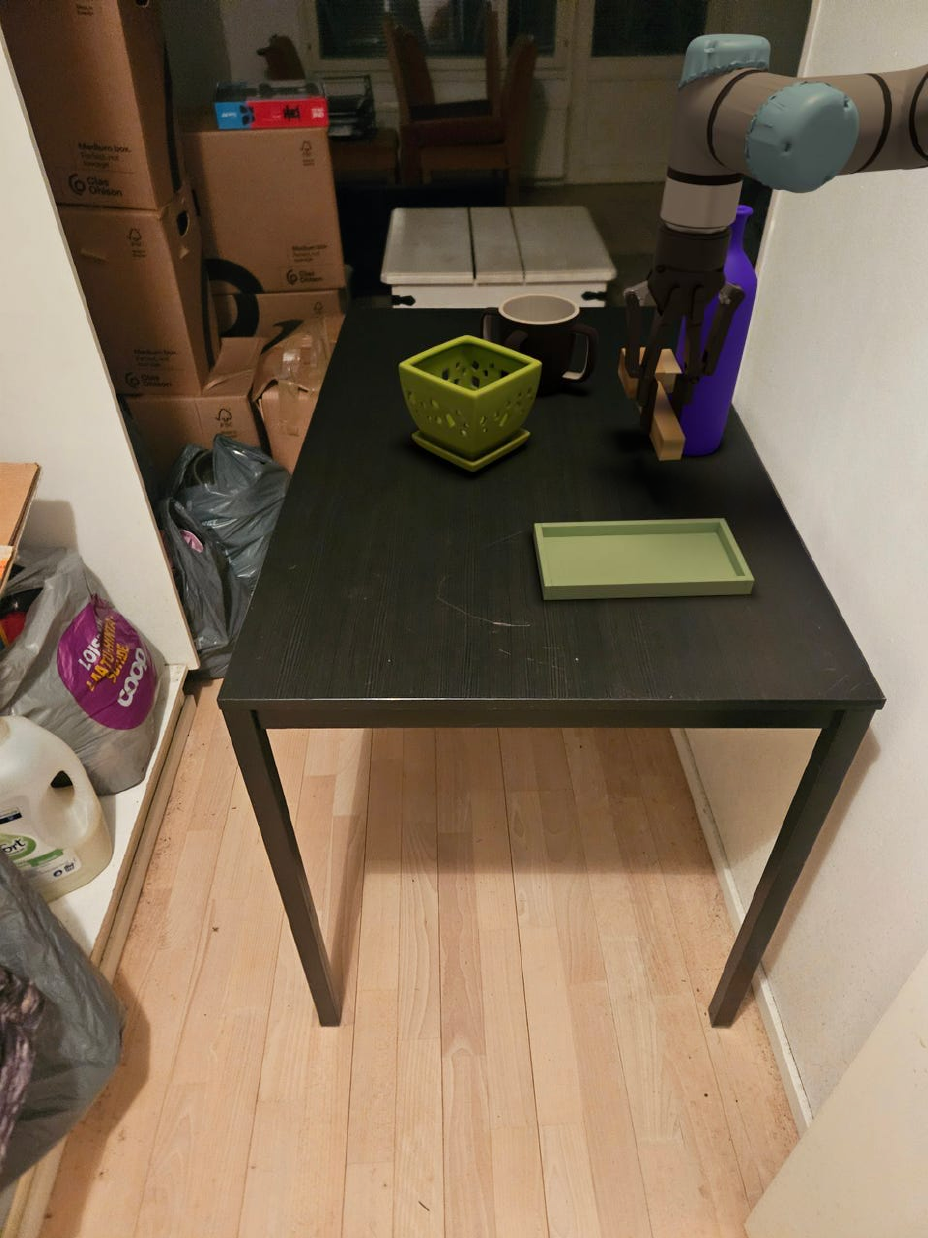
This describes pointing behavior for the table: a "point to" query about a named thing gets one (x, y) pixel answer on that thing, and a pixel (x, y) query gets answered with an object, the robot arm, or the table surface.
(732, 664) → the table surface
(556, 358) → the mug
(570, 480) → the table surface
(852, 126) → the robot arm
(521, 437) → the flower pot
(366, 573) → the table surface
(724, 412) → the bottle
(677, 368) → the wooden mallet
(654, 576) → the tray
